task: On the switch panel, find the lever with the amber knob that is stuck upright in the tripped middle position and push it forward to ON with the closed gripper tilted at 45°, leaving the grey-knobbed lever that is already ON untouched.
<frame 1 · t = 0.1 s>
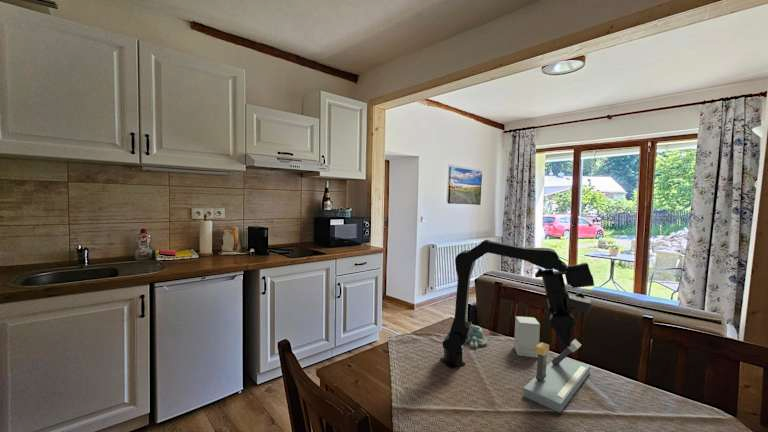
hand: (567, 340, 97), 15 cm above the table, tool pointing down, fingers open, 9 cm apart
supplement box: (525, 352, 122), on the table
stuffed animal: (474, 343, 129), on the table
tripped lever: (541, 362, 98), point 8 cm above the table, hinge at 0.0°
switch panel: (558, 383, 101), on the table
on lever: (565, 353, 106), point 7 cm above the table, hinge at 35.0°
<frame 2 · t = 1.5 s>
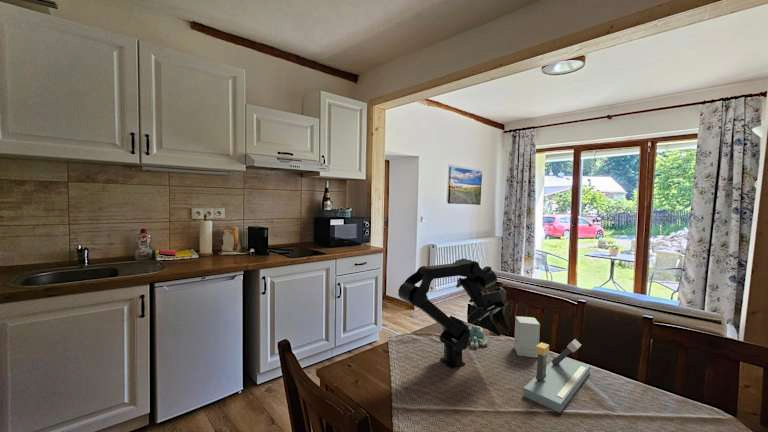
hand: (504, 332, 106), 14 cm above the table, tool tilted 45°, fingers open, 6 cm apart
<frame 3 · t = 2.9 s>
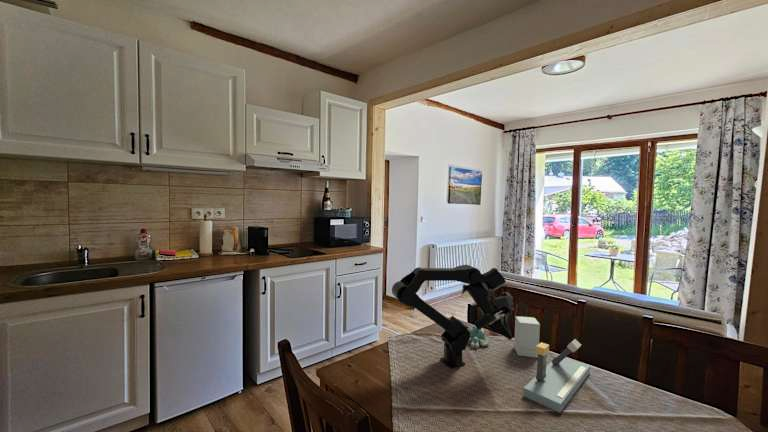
hand: (511, 338, 105), 12 cm above the table, tool tilted 45°, fingers closed
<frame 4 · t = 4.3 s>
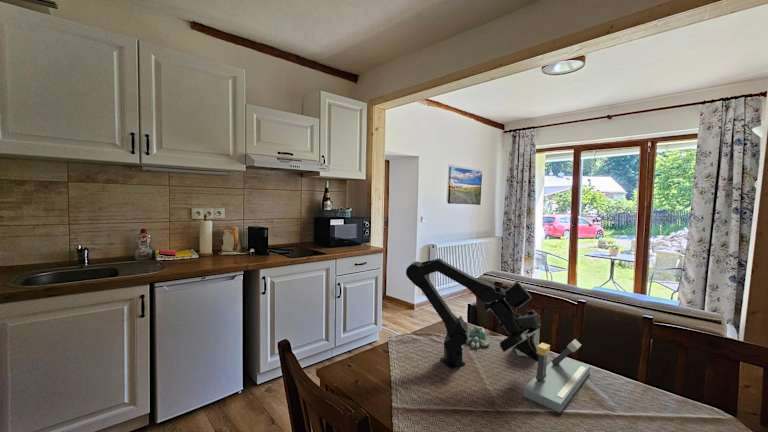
hand: (539, 360, 99), 8 cm above the table, tool tilted 45°, fingers closed, pressing on tripped lever
tripped lever: (542, 362, 98), point 8 cm above the table, hinge at 1.7°, touching gripper
everything else where it was.
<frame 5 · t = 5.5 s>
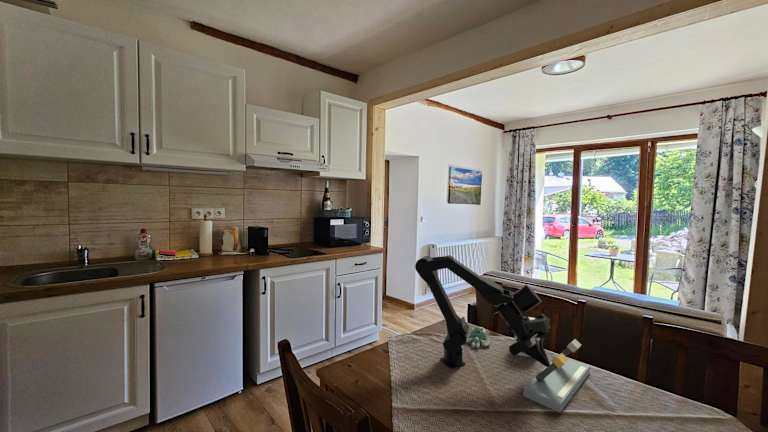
hand: (548, 366, 97), 8 cm above the table, tool tilted 45°, fingers closed, pressing on tripped lever
tripped lever: (550, 368, 96), point 7 cm above the table, hinge at 36.5°, touching gripper
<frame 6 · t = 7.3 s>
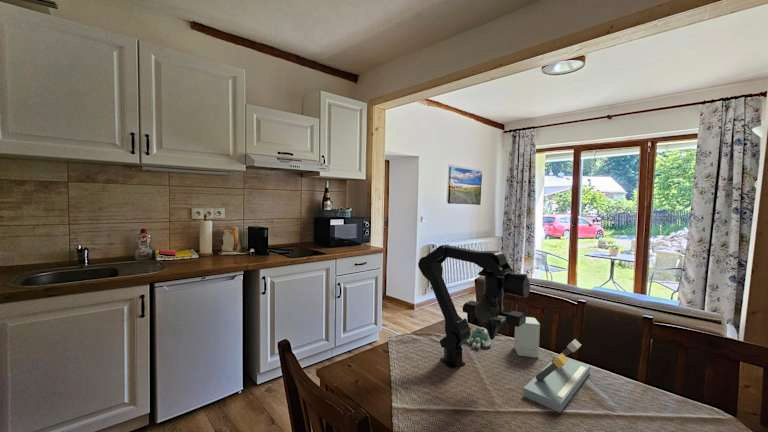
hand: (492, 339, 102), 13 cm above the table, tool pointing down, fingers closed
tripped lever: (550, 368, 96), point 7 cm above the table, hinge at 36.7°
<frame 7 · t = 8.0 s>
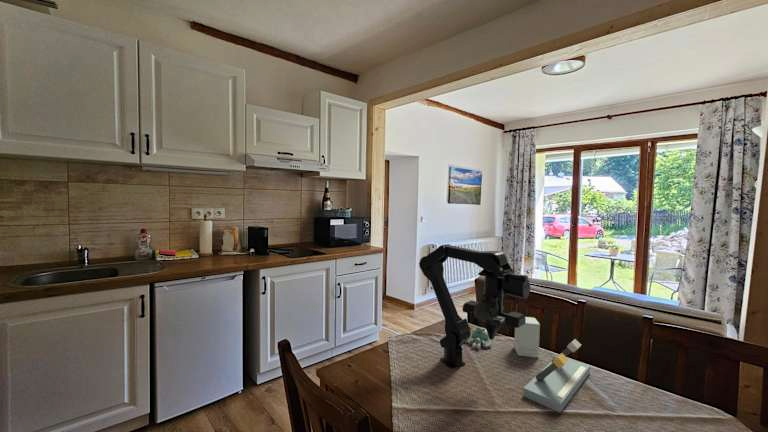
hand: (491, 339, 102), 13 cm above the table, tool pointing down, fingers closed
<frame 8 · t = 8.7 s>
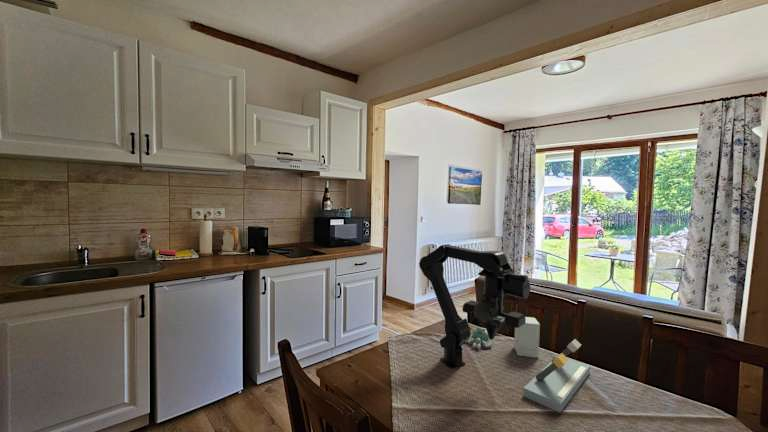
hand: (491, 339, 102), 13 cm above the table, tool pointing down, fingers closed
at the end: tripped lever at +37° (first picture: +0°); on lever at +35° (first picture: +35°) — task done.
